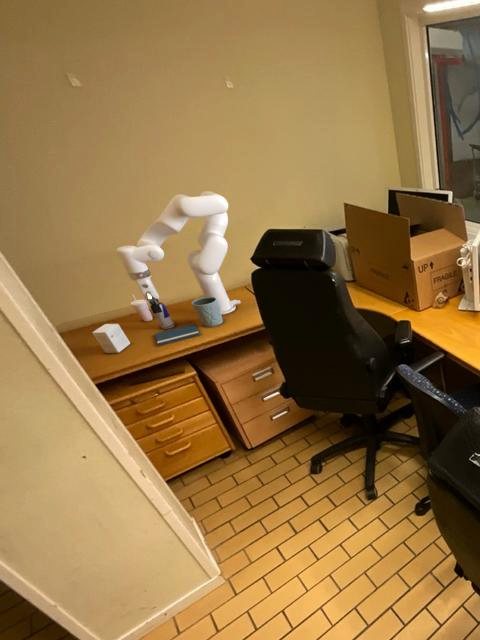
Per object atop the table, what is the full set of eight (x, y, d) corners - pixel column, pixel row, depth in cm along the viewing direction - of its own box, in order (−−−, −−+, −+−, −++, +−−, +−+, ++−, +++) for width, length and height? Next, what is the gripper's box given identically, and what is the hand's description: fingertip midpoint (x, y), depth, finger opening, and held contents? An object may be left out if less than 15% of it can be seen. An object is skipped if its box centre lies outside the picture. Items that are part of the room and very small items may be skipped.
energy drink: (177, 324, 194) (166, 302, 187) (169, 329, 189) (157, 307, 182) (167, 323, 194) (155, 301, 187) (159, 328, 190) (146, 306, 183)
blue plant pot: (198, 323, 195) (187, 301, 188) (219, 316, 202) (209, 294, 195) (208, 329, 190) (197, 307, 183) (229, 321, 197) (220, 299, 190)
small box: (118, 344, 178) (104, 323, 172) (131, 343, 178) (118, 323, 172) (105, 353, 171) (91, 332, 165) (118, 353, 172) (105, 332, 166)
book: (195, 325, 193) (194, 323, 192) (199, 335, 186) (198, 333, 185) (156, 335, 185) (155, 333, 184) (158, 345, 177) (157, 344, 177)
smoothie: (137, 321, 196) (122, 295, 188) (150, 315, 201) (136, 290, 193) (145, 323, 194) (130, 297, 186) (159, 318, 199) (144, 292, 191)
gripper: (151, 278, 173) (169, 313, 183) (148, 267, 184) (165, 301, 193) (130, 282, 169) (148, 317, 178) (128, 270, 179) (146, 305, 189)
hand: (157, 309), depth 186 cm, fingers open, 9 cm apart
